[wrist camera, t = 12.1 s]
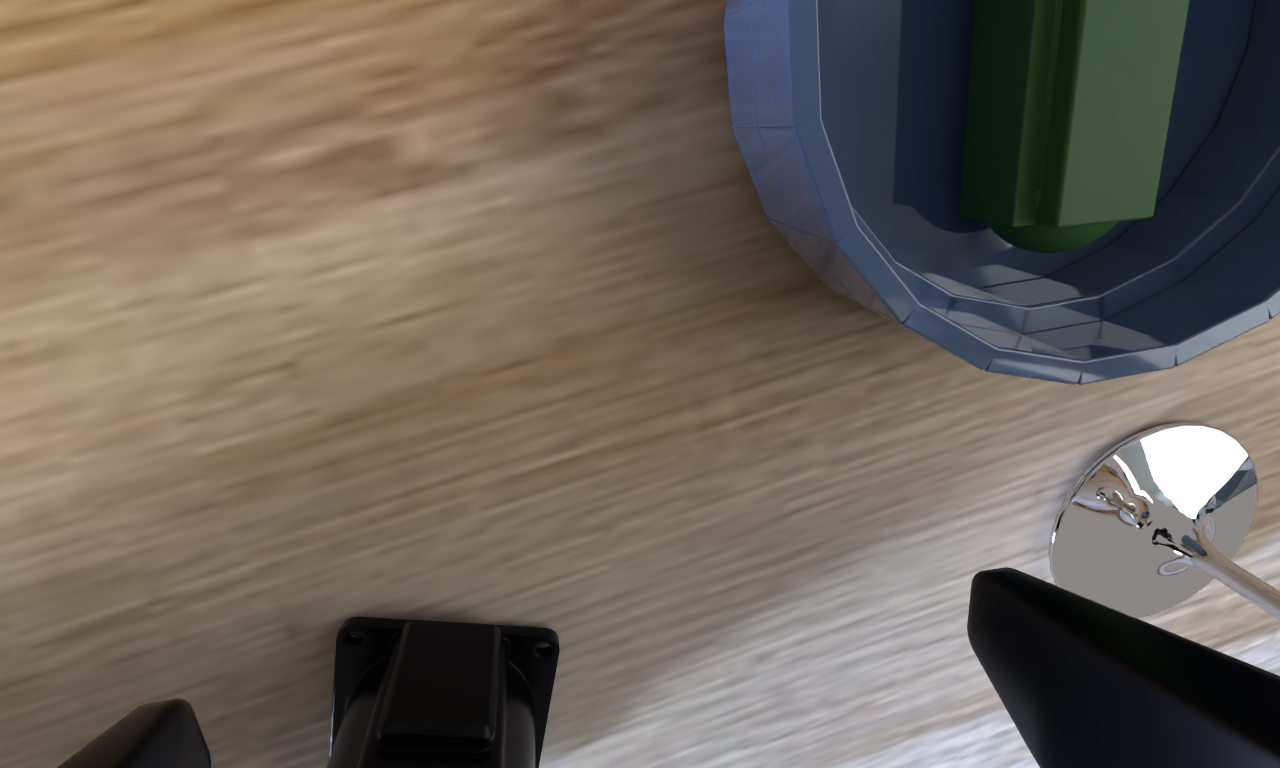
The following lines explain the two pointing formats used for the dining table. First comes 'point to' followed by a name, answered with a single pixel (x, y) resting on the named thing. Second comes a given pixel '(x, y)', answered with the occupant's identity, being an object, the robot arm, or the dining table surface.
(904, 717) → the dining table surface
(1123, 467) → the wineglass
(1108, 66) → the green domed grooved pillar
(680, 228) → the dining table surface
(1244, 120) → the bowl
